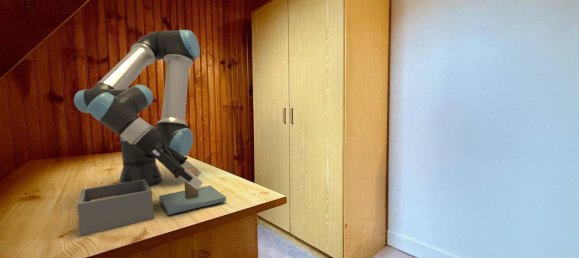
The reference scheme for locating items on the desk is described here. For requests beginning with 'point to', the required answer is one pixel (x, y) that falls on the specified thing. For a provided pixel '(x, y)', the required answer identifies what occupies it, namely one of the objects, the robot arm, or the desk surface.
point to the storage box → (114, 206)
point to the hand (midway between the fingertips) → (199, 180)
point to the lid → (190, 197)
